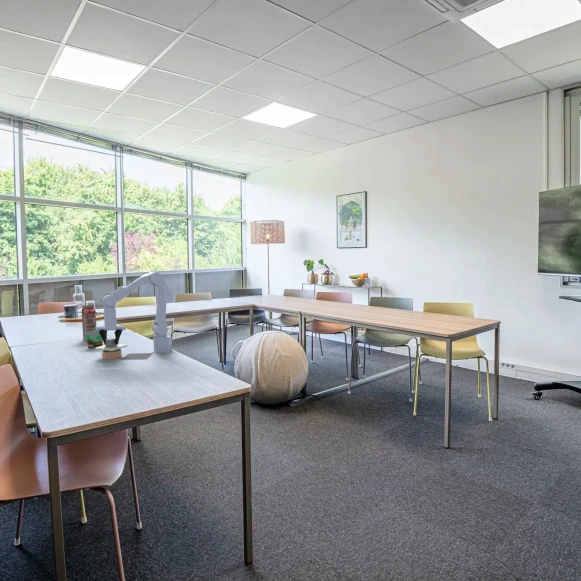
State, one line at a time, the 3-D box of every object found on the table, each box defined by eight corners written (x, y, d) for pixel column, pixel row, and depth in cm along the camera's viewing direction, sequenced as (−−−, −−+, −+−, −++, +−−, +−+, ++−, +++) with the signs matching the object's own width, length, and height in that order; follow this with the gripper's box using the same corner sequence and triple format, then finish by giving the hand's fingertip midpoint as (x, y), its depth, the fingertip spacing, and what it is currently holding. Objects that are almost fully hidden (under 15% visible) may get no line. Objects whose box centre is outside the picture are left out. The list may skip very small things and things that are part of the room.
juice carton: (83, 339, 260) (81, 305, 258) (94, 338, 264) (92, 304, 262) (85, 341, 254) (83, 306, 252) (97, 340, 258) (95, 305, 256)
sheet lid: (127, 346, 218) (127, 337, 218) (112, 351, 208) (111, 341, 207) (111, 344, 222) (110, 335, 221) (95, 349, 211) (94, 340, 211)
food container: (95, 348, 235) (95, 331, 234) (86, 348, 236) (85, 331, 236) (109, 344, 247) (108, 327, 246) (100, 343, 249) (99, 327, 248)
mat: (153, 354, 223) (153, 353, 223) (146, 360, 210) (146, 359, 210) (128, 354, 222) (128, 353, 222) (120, 360, 209) (120, 359, 209)
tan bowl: (123, 355, 220) (123, 348, 220) (117, 359, 211) (117, 352, 211) (106, 355, 219) (106, 348, 219) (99, 360, 210) (99, 352, 210)
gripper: (127, 316, 218) (128, 342, 219) (98, 317, 217) (100, 342, 218) (122, 319, 211) (123, 345, 212) (93, 319, 210) (94, 345, 211)
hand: (111, 344), depth 214 cm, fingers closed on sheet lid, 5 cm apart
